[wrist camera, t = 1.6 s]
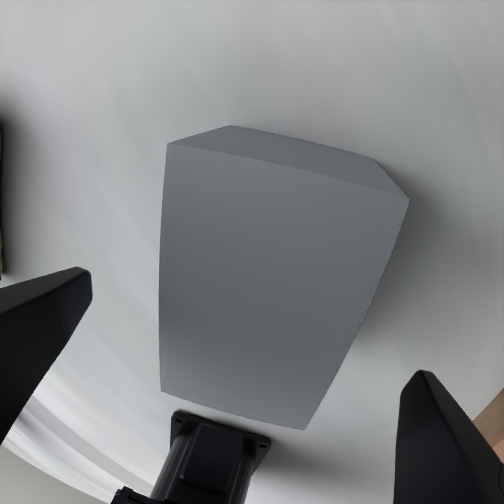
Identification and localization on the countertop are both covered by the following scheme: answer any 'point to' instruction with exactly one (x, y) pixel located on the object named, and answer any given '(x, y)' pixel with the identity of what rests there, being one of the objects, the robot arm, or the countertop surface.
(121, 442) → the countertop surface
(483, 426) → the base slab
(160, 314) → the charcoal block
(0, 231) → the stone block
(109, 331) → the countertop surface
